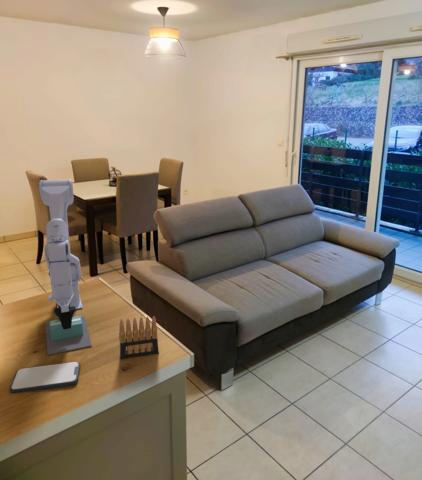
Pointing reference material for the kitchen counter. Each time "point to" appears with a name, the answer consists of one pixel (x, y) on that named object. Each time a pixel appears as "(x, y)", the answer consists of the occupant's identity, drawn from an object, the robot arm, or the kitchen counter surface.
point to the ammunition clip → (138, 339)
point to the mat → (68, 341)
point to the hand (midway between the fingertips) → (66, 321)
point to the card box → (61, 333)
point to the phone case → (45, 377)
